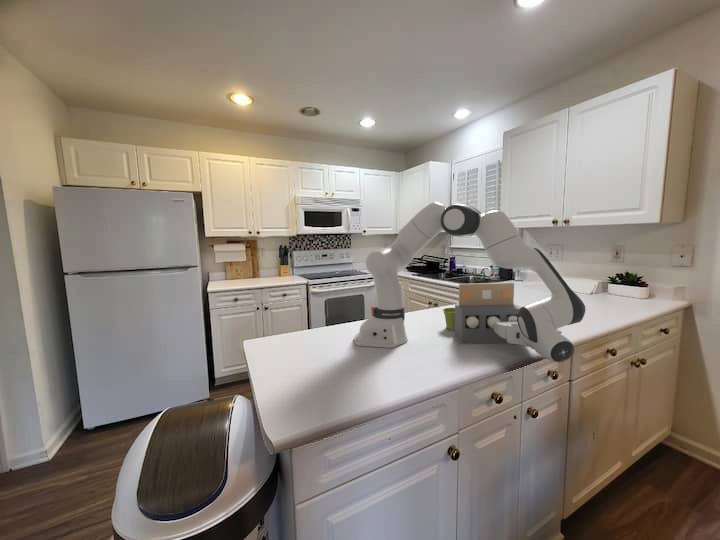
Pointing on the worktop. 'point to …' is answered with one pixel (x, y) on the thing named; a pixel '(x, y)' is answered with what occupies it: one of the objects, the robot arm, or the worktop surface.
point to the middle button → (492, 320)
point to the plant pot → (450, 318)
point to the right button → (511, 318)
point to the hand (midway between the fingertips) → (514, 322)
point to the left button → (471, 321)
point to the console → (483, 311)
